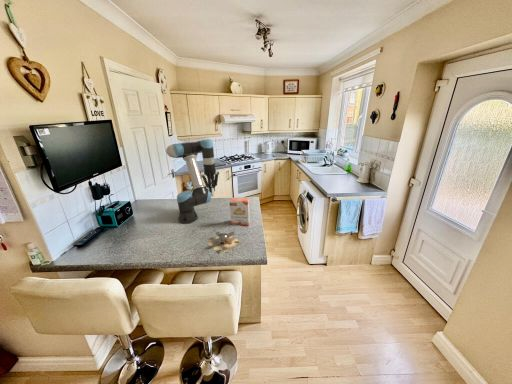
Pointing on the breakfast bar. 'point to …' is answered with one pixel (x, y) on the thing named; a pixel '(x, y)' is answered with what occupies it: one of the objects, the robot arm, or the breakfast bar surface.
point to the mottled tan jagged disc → (224, 247)
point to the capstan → (223, 238)
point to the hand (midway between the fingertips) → (212, 196)
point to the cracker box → (239, 211)
